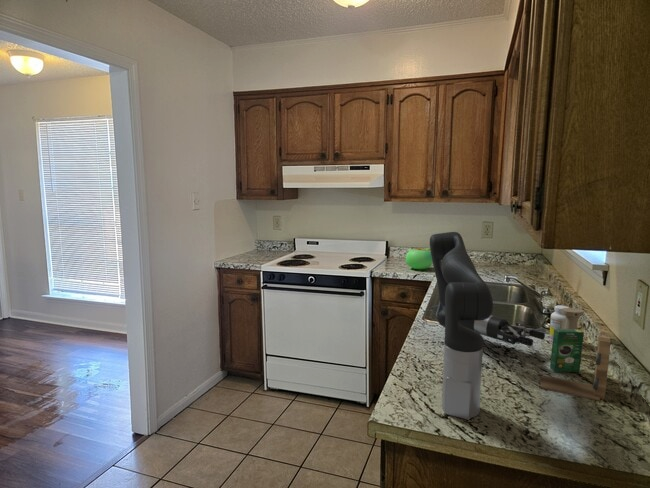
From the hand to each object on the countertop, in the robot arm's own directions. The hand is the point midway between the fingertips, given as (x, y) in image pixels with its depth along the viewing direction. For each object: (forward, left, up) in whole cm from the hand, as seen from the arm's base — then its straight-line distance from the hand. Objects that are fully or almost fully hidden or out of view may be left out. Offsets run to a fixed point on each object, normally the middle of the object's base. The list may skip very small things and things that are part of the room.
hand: (538, 339), depth 133 cm
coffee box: (-3, -8, -8) cm, 11 cm away
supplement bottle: (+23, -6, -8) cm, 25 cm away
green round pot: (+119, +77, -8) cm, 142 cm away
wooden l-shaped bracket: (-13, -10, -8) cm, 18 cm away
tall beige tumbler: (+13, -9, -8) cm, 18 cm away
